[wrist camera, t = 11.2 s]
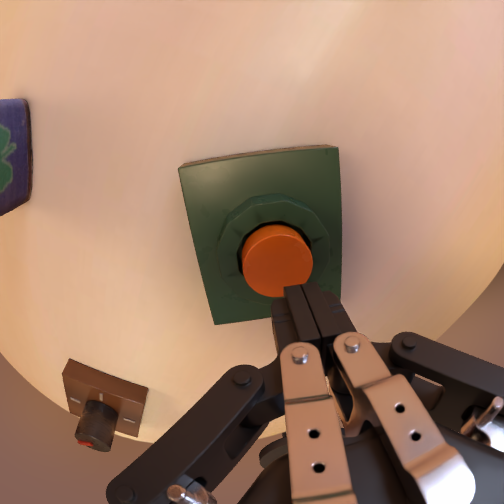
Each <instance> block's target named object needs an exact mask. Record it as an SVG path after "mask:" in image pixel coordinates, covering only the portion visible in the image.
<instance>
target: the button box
mask: <svg viewBox="0 0 504 504" xmlns="http://www.w3.org/2000/svg"><path fill="white" fill-rule="evenodd" d="M178 172H179V177H180V182H181V187H182V192H183V197H184V202H185V206H186V211H187V216H188V220H189V225H190V229H191V234H192V238H193V242H194V247H195V251H196V255H197V259H198V263H199V267H200V271H201V275H202V279H203V283H204V287H205V291H206V295H207V299H208V303H209V306H210V310H211V314H212V317H213V321H214V324H215V325H220V324H228V323H235V322H242V321H249V320H256V319H263V318H269V317H271V308H270V307H271V305H272V302H273V300H274V299H281V298H284V296H282V297H268V296H264V295H261V294H259V293H257V292H256V291H254V290H253V289H252V288H251V287H250V286H249V285H248V283H247V282H246V280H245V278H244V274H243V265H242V249H243V246H244V244H245V242H246V240H247V239H248V237H249V236H250V235H251V234H252V233H253V232H255V231H256V230H258V229H259V228H261V227H264V226H267V225H273V224H280V225H285V226H288V227H290V228H292V229H294V230H295V231H297V232H298V233H299V234H300V235H301V237H302V238H303V240H304V242H305V243H306V245H307V247H308V248H309V250H310V252H311V254H312V259H313V267H312V271H311V274H310V277H309V278H308V280H307V282H306V283H310V282H317V283H318V285H319V287H320V289H321V291H322V292H323V291H328V290H329V291H331V292H332V293H334V294H335V295H337V296H338V298H339V300H340V298H341V272H342V207H341V181H340V164H339V150H338V147H335V146H330V145H316V146H303V147H292V148H283V149H273V150H265V151H257V152H250V153H243V154H236V155H229V156H223V157H217V158H211V159H205V160H200V161H195V162H189V163H184V164H183V165H182V166H180V167H179V168H178Z"/></svg>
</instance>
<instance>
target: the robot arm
mask: <svg viewBox="0 0 504 504" xmlns="http://www.w3.org/2000/svg"><path fill="white" fill-rule="evenodd" d="M283 295H284V298H281V299H274V300H273V302H272V305H271V307H270V308H271V318H272V327H273V334H274V340H275V345H276V350H277V355H278V356H277V358H276V359H275V360H274V361H273V362H272V363H270V364H269V365H267V366H265V367H262V368H260V369H258V368H256V367H254V366H252V365H238V366H235V367H233V368H231V369H229V370H228V371H227V372H226V373H225V374H224V375H223V376H222V377H221V378H220V379H219V380H218V381H217V382H216V383H215V384H214V385H213V386H212V387H211V388H210V389H209V390H208V392H207V393H206V394H205V395H204V396H203V397H202V398H201V399H200V400H199V401H198V402H197V403H196V404H195V405H194V406H193V407H192V408H191V409H190V410H189V411H188V412H187V413H186V414H185V415H183V416H182V417H181V418H180V419H179V420H178V421H177V422H176V423H175V424H174V425H173V426H172V427H171V428H170V429H169V430H168V431H167V432H166V433H165V434H164V435H163V436H161V437H160V438H159V439H158V440H157V441H156V442H155V443H154V444H153V445H152V446H151V447H150V448H149V449H147V450H146V451H145V452H144V453H143V454H142V455H141V456H140V457H138V458H137V459H136V460H135V461H134V462H133V463H132V464H131V465H130V466H128V467H127V468H126V469H125V470H124V471H122V472H121V473H120V474H119V475H118V476H116V477H115V478H114V479H113V480H112V481H111V482H110V483H109V484H108V486H107V489H106V498H107V501H108V503H109V504H217V501H216V499H215V497H214V496H213V495H212V494H211V492H212V491H213V490H214V489H215V488H216V487H217V486H218V485H219V483H221V481H222V480H223V479H224V478H225V477H226V476H227V475H228V473H229V472H230V471H231V470H232V469H233V468H234V467H235V466H236V464H237V463H238V462H239V461H240V460H241V458H242V457H243V456H244V455H245V454H246V452H247V451H248V450H249V449H250V448H251V446H252V445H253V444H254V443H255V441H256V440H257V439H258V437H259V436H260V435H261V434H262V432H263V431H264V430H265V428H266V427H267V426H268V424H269V422H270V421H272V420H274V419H276V418H278V417H281V416H283V415H285V422H286V434H287V447H288V453H286V454H284V455H283V456H281V457H279V458H277V459H276V460H274V461H273V462H272V463H270V464H269V465H268V466H267V467H266V468H265V469H264V470H263V471H262V472H261V474H260V475H259V476H258V477H257V479H256V480H255V482H254V483H253V484H252V486H251V487H250V488H249V489H248V491H247V492H246V493H245V495H244V496H243V497H242V498H241V500H240V501H239V502H238V503H237V504H504V368H503V367H500V366H497V365H494V364H492V363H489V362H487V361H484V360H482V359H479V358H476V357H474V356H471V355H469V354H466V353H464V352H461V351H458V350H456V349H453V348H451V347H448V346H446V345H443V344H440V343H438V342H436V341H433V340H431V339H428V338H425V337H423V336H420V335H418V334H415V333H412V332H402V333H399V334H397V335H396V336H395V337H394V338H393V339H392V343H375V342H370V341H369V339H368V338H367V337H366V336H365V335H363V334H361V333H358V332H357V331H356V329H355V327H354V325H353V324H352V322H351V320H350V318H349V316H348V314H347V313H346V311H345V309H344V307H343V305H342V304H341V302H340V300H339V298H338V296H337V295H335V294H334V293H332V292H331V291H329V290H328V291H323V292H322V291H321V289H320V287H319V285H318V283H317V282H310V283H304V284H298V285H291V286H285V287H283ZM415 374H418V375H420V376H423V377H425V378H427V379H430V380H432V381H434V382H437V383H439V384H441V385H443V386H437V385H434V384H432V383H430V382H427V381H425V380H422V379H420V378H418V377H415ZM325 376H327V377H328V380H329V388H327V383H326V379H325ZM328 389H329V392H328ZM329 393H330V395H329ZM336 409H337V410H336ZM337 412H338V414H339V417H340V419H341V421H342V423H343V426H344V430H345V437H342V433H341V428H340V423H339V419H338V415H337ZM449 428H450V429H449ZM456 431H457V432H456ZM458 432H459V433H458ZM460 433H461V434H460Z"/></svg>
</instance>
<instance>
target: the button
mask: <svg viewBox="0 0 504 504" xmlns="http://www.w3.org/2000/svg"><path fill="white" fill-rule="evenodd" d="M242 265H243V274H244V278H245V280H246V282H247V283H248V285H249V286H250V287H251V288H252V289H253V290H254V291H256V292H257V293H259V294H261V295H264V296H268V297H282V296H284V295H283V287H285V286H291V285H298V284H304V283H306V282H307V280H308V278H309V277H310V274H311V271H312V267H313V259H312V254H311V252H310V250H309V248H308V247H307V245H306V243H305V242H304V240H303V238H302V237H301V235H300V234H299V233H298V232H297V231H295V230H294V229H292V228H290V227H288V226H285V225H280V224H273V225H267V226H264V227H261V228H259V229H258V230H256V231H255V232H253V233H252V234H251V235H250V236H249V237H248V239H247V240H246V242H245V244H244V246H243V249H242Z"/></svg>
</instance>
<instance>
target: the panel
mask: <svg viewBox="0 0 504 504" xmlns="http://www.w3.org/2000/svg"><path fill="white" fill-rule="evenodd" d="M62 376H63V382H64V387H65V392H66V397H67V402H68V406H69V410H70V413H71V414H74V415H76V416H78V417H81V415H82V412H83V409H84V406H85V404H86V402H87V401H98V402H101V403H103V404H105V405H107V406H109V407H111V408H112V409H113V410H115V411H116V413H117V414H118V421H117V425H116V429H115V431H118V432H121V433H124V434H127V435H131V436H134V437H138V432H139V427H140V423H141V418H142V413H143V409H144V404H145V399H146V395H147V391H148V388H146V387H143V386H139V385H136V384H133V383H130V382H127V381H124V380H122V379H119V378H116V377H113V376H110V375H108V374H105V373H103V372H100V371H97V370H95V369H92V368H90V367H88V366H85V365H83V364H80V363H78V362H76V361H74V360H71V359H69V360H68V362H67V364H66V366H65V368H64V370H63V372H62Z"/></svg>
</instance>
